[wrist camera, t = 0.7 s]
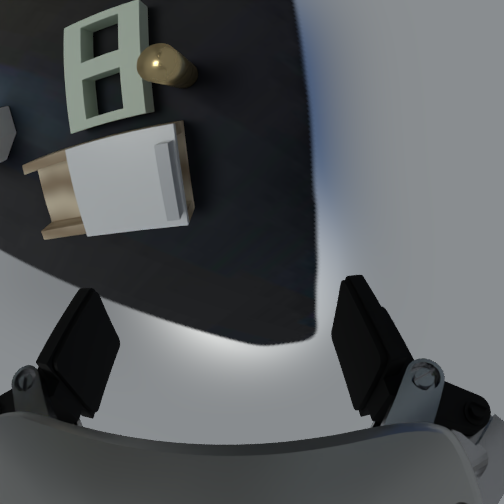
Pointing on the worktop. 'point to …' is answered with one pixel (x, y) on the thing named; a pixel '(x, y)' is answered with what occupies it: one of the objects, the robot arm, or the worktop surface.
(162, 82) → the pin
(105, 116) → the board
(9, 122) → the jar
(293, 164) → the worktop surface
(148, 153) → the cover
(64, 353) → the robot arm
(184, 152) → the tray
